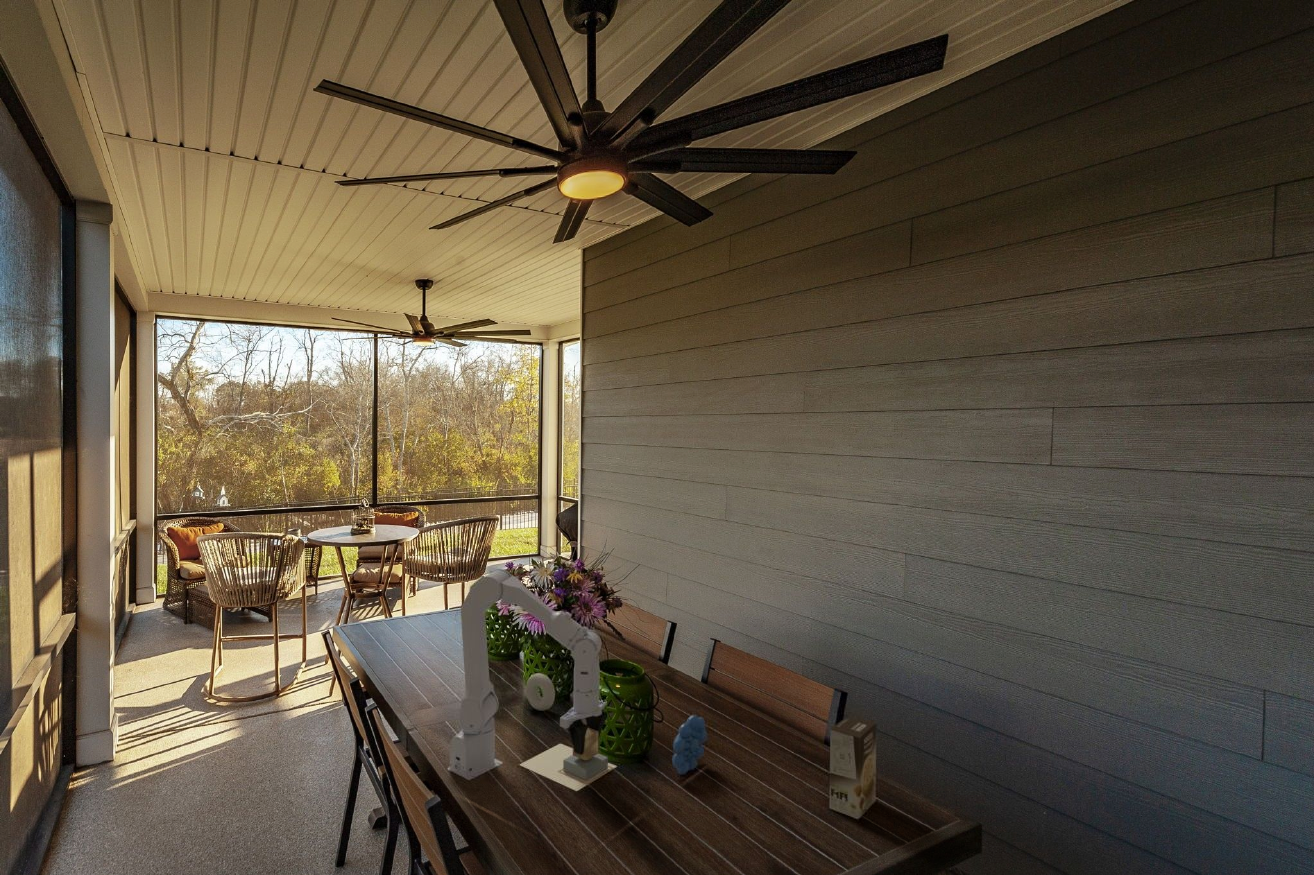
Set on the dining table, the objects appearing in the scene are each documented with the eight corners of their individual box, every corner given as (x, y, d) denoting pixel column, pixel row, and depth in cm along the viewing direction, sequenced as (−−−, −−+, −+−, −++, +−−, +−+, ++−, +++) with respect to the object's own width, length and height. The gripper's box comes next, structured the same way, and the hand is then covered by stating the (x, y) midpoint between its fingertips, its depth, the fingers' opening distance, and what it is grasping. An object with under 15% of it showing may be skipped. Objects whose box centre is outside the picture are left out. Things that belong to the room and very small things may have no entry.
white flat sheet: (576, 794, 133) (576, 790, 133) (519, 767, 144) (519, 764, 144) (617, 769, 143) (617, 765, 143) (560, 746, 154) (560, 743, 154)
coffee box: (859, 821, 124) (859, 738, 124) (828, 809, 128) (829, 729, 129) (876, 801, 131) (876, 723, 132) (846, 790, 135) (847, 714, 136)
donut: (522, 707, 176) (523, 671, 177) (531, 703, 179) (532, 668, 179) (548, 716, 171) (548, 679, 171) (557, 712, 173) (558, 675, 174)
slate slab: (586, 781, 137) (586, 769, 137) (563, 771, 141) (563, 760, 141) (607, 768, 142) (607, 757, 142) (584, 759, 146) (585, 748, 147)
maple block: (585, 760, 139) (586, 737, 139) (572, 755, 141) (572, 732, 141) (598, 753, 142) (598, 731, 142) (585, 748, 145) (585, 726, 145)
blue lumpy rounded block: (689, 755, 150) (690, 704, 150) (713, 764, 146) (713, 711, 146) (658, 774, 141) (659, 720, 141) (682, 785, 137) (683, 729, 137)
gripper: (576, 702, 134) (576, 767, 133) (621, 682, 145) (620, 742, 145) (553, 694, 138) (552, 757, 138) (598, 675, 150) (597, 733, 149)
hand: (585, 749), depth 142 cm, fingers closed on maple block, 4 cm apart
